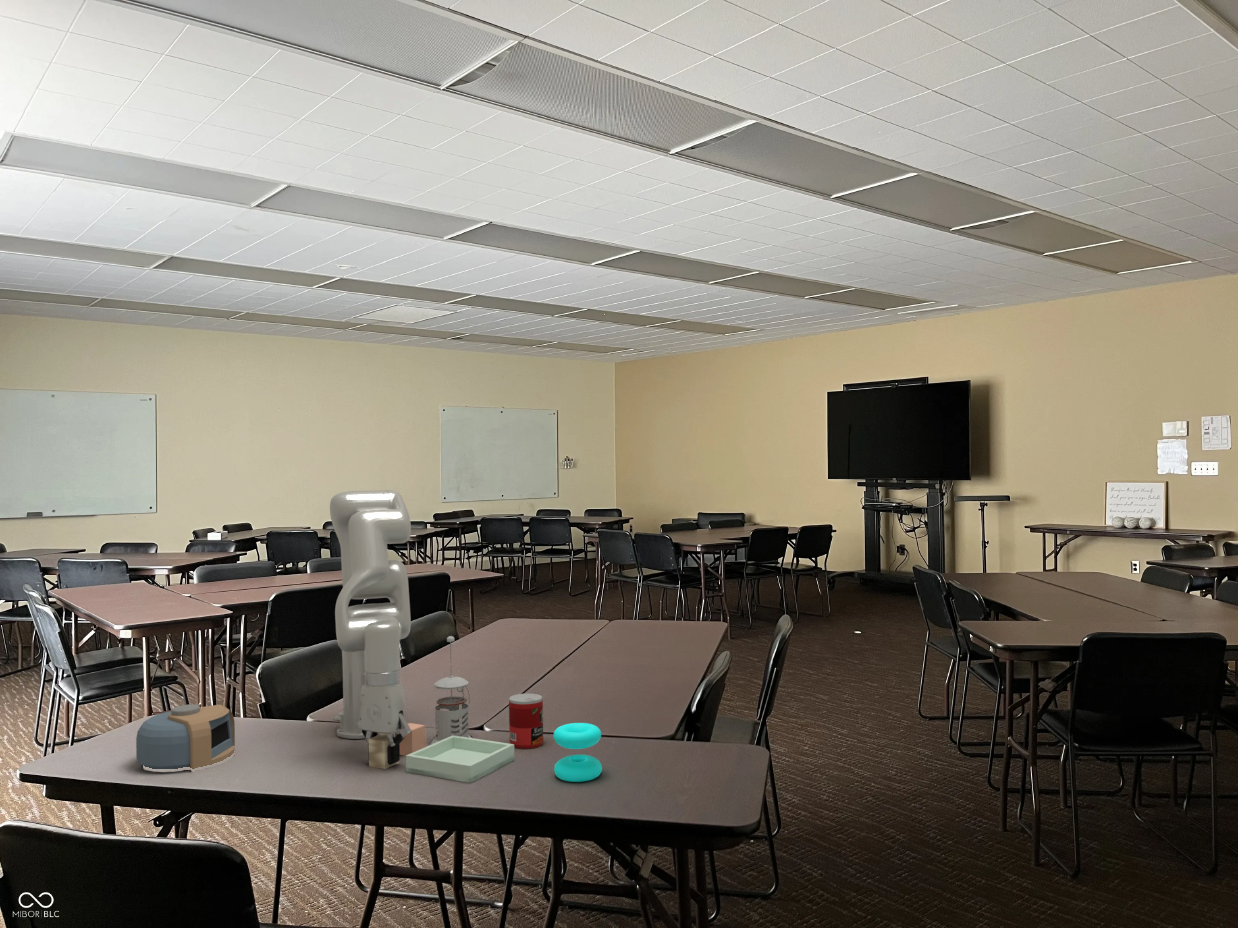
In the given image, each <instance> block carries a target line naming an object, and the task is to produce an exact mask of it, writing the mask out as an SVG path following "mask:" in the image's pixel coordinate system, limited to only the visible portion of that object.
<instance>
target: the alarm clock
mask: <svg viewBox="0 0 1238 928" xmlns="http://www.w3.org/2000/svg"><path fill="white" fill-rule="evenodd" d="M235 729H236V728H235V718H234V714H233V713H232V711H231V710H230V709H229V708H227V707H226V706H224V705H223V704H215V705H209V706H206V705H205V706H201V707H200V705H198V704H182V705H178V706H175V707H173V708H172V709H171V711H170V710H169V711H165V712H162V713H158V714H155V715H154V716H151V717H149V718H148V719H146V720H145V721H143V722H142V723H141V725H140V727H139V728H138V730H137V734H136V737H135V738H136V740H135V742H136V745H135V746H136V758H135V759H136V762H137V763H139V764H140V765H141V766H142V765H144V766H145V767H149V768H152V769H178V768H183V767H190V768H192V769H195V768H198V767H203V766H207V765H212V764H214V763H217V762H220V761H223V760H224V759H226V758H227V757H230V756H231V755H232V754H233V753H234V751H235V752H236V741H235V740H236V739H235V738H236V736H235V735H236V733H235V732H236V731H235Z"/></svg>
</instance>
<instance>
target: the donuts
mask: <svg viewBox="0 0 1238 928" xmlns="http://www.w3.org/2000/svg"><path fill="white" fill-rule="evenodd" d="M601 738H602V731H601V729H600V728H599V727H598V726H597V725H595V724H592V723H587V722H572V723H566V724H562V725H560V726H558V727H557V728H556V729H555V730H554V731H553V740H554V741H555V743H556V744H557V745H558V746H560V747H562V748H565V749H570V750H581V749H582V750H584V749H587V748H591V747H593V746H595V745H597V744H598V742H599V741H600V740H601ZM553 768H554V769H553V772H554V774H555V776H556V777H557V778H559V780H562V781H565V782H571V783H582V782H583V783H584V782H589V781H592V780H594V779H596V778H598V777H599V776H600V774H601V773H602V771H603V765H602V762H600V760H599V759H597V757H595V756H592V755H589V754H581V753H580V754H571V755H566V756H564V757H562V758H560V759H558V760H557V762H556V763H555V764H554V767H553Z"/></svg>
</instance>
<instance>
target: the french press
mask: <svg viewBox="0 0 1238 928" xmlns="http://www.w3.org/2000/svg"><path fill="white" fill-rule="evenodd" d="M446 642H447V643H449V648H450V649H449V651H450V654H449V655H450V657H449V659H450V663H452V642H455V637H454V636H452V635H450V636H448V637H446ZM452 669H453V666H450V675H448V676H445V677H442V678H440V679H438V680H437V681H436V682H435V683H433V686H434V687H435V688H437V689H438V690H439V689H440V690H450V696H445V697H442V698H438V699H437V700H436V704H437V705H436V706H434V707H435V715H434V718H435V737H434V739H432V741H431V745H432V744H434V743H436V742H439V741H441V740H443V739H446V738H448V737H450V736H460V737H467V738H473V737H472V736H471V735H470V733H469V732H470V731H469V713H468V712H469V709H470V703H471V698H470V697H471V696H470V695H471V694H470V690H469V688H468V687H467V686H468V685H469V681H468V680H466V679H465V678H463V677H460V676H453V673H452ZM464 688H465V689H466V690H467V692H468V693H467V694H468V704H467V703H466V702H467V698H466V697H465V694H464ZM459 689H460V690H459ZM453 690H456V691H457V692H459V693H461V692H462V696H453ZM460 705H461V708H460ZM441 709H442V710H441ZM443 709H444V710H443ZM445 709H446V710H445ZM460 719H461V720H460Z"/></svg>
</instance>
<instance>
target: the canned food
mask: <svg viewBox="0 0 1238 928" xmlns="http://www.w3.org/2000/svg"><path fill="white" fill-rule="evenodd" d="M508 718H509V719H508V722H509V724H508V725H509V728H508V729H509V744H514V749H520V750H530V749H536V748H539V747H540V746H542V745H543V743H544V701H543V696H542V695H540V694H538V693H537V694H536V693H519V694H514V695H511V696H509V699H508Z"/></svg>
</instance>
